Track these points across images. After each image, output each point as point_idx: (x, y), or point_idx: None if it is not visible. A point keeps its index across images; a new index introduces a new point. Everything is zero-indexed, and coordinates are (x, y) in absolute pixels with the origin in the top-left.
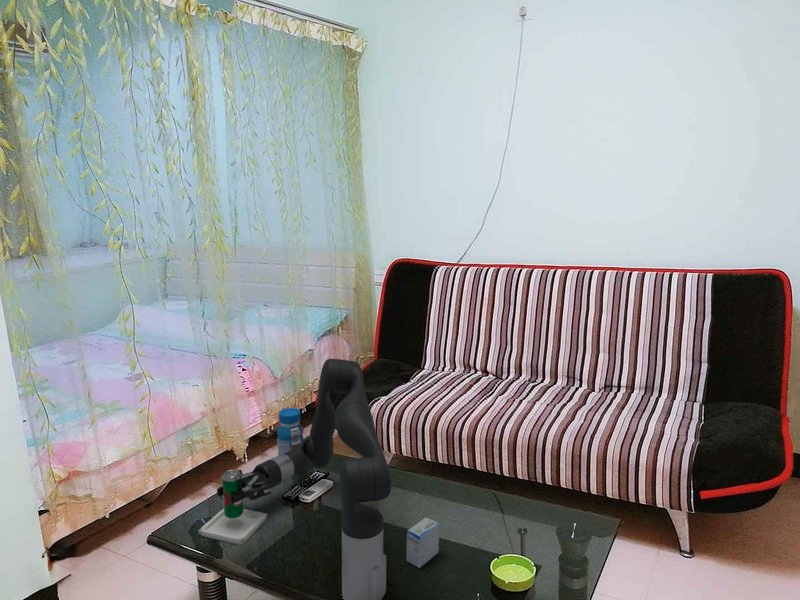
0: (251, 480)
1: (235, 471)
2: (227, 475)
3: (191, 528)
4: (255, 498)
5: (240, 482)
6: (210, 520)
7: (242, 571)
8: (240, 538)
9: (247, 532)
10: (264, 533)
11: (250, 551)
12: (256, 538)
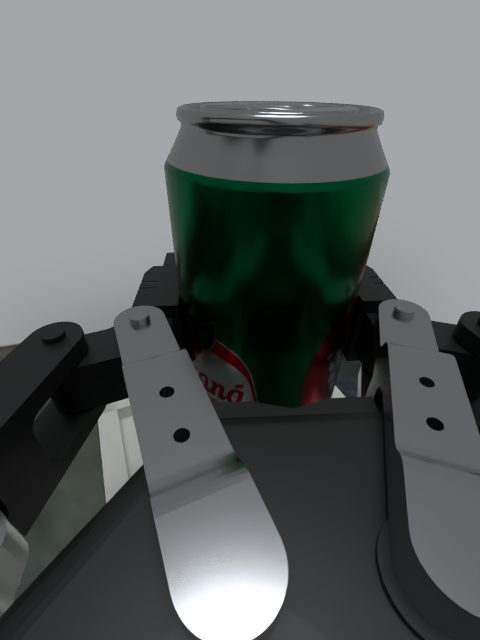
0: (213, 423)
1: (294, 110)
2: (268, 102)
3: (359, 364)
4: (43, 422)
5: (176, 227)
6: (340, 396)
7: (4, 350)
8: (106, 405)
9: (107, 451)
10: (43, 566)
11: (35, 419)
12: (65, 496)
